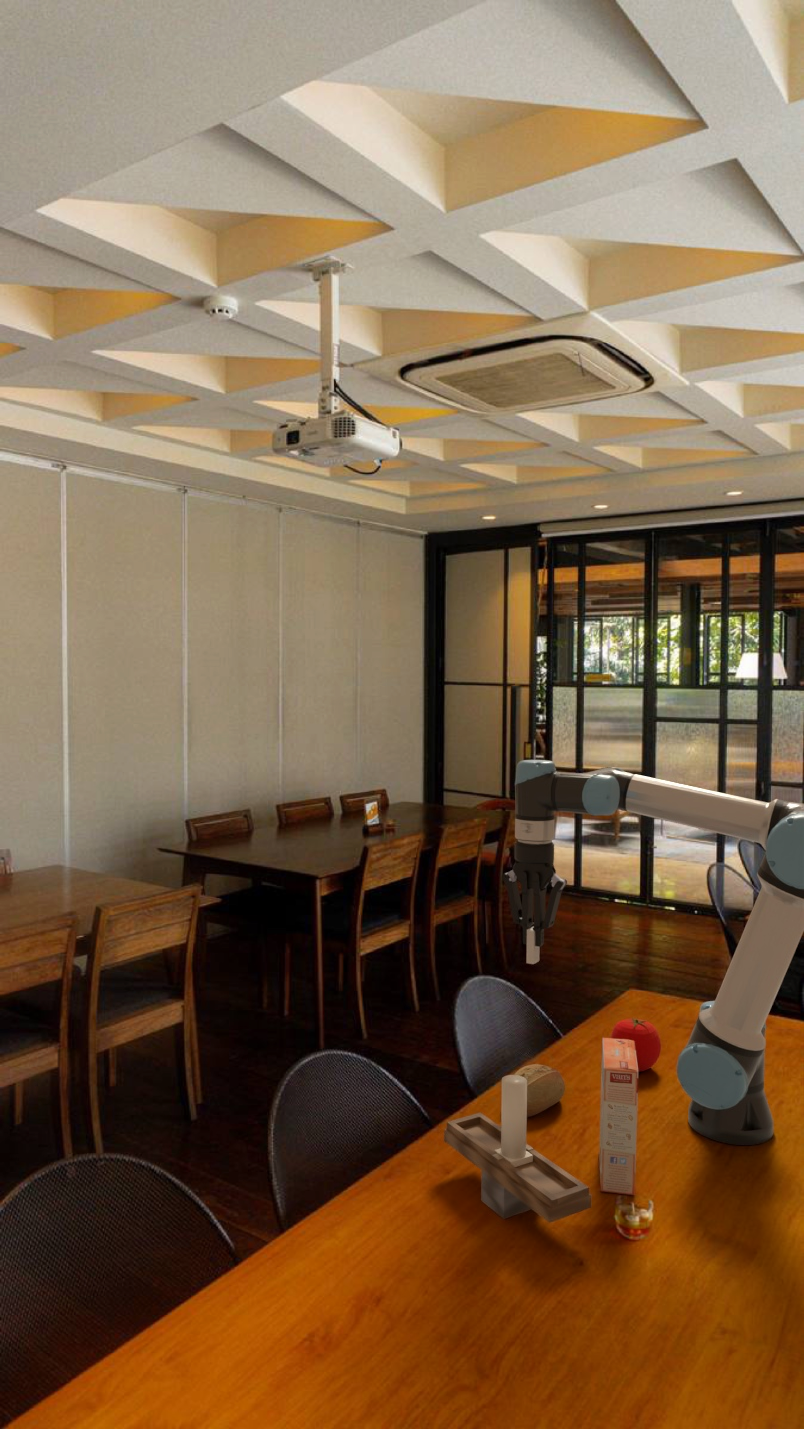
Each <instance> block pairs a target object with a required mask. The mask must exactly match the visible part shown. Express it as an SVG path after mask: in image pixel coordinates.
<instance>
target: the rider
mask: <svg viewBox="0 0 804 1429" xmlns="http://www.w3.org/2000/svg"><path fill="white" fill-rule="evenodd" d="M500 1112H501V1120H500V1121H501V1123H500V1126H501V1148H500V1149H496V1150H494V1152H495V1153H498V1154H499V1155H500V1156H502V1157H503V1159H505V1160H506V1161H507V1162H509V1163H510V1164H511V1165H513V1166H514V1167H517V1166H520V1165H523V1164H527V1163H530V1162H533V1155H532V1154H530V1153H529V1152H528V1151H526V1144H527V1122H528V1121H527V1120H528V1117H527V1079H526V1078H524V1077H522V1076H519V1075H514V1074H509V1075H505V1076H502V1078H501V1111H500Z"/></svg>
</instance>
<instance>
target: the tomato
mask: <svg viewBox="0 0 804 1429" xmlns="http://www.w3.org/2000/svg"><path fill="white" fill-rule="evenodd" d="M610 1038H613V1039H628V1040H633V1041H635V1049H636V1058H637V1065H638V1073H640V1072H644V1071H647V1070H649V1069H650V1068H652V1067H653V1066H654V1065H655V1064H656V1063H657V1061H658V1059H659V1058H660V1054H661V1052H662V1050H661V1049H662V1042H661V1037H660V1035H659V1033H658V1029H657V1028H656V1027H655V1026H654V1025H653V1024H652V1023H650V1022H649V1021H648V1020H645V1019H639V1018H633V1017H631V1018H628V1019H623V1020H619V1021H617V1023H616V1024H615V1025H614V1026H613V1029H612V1032H611V1035H610Z"/></svg>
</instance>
